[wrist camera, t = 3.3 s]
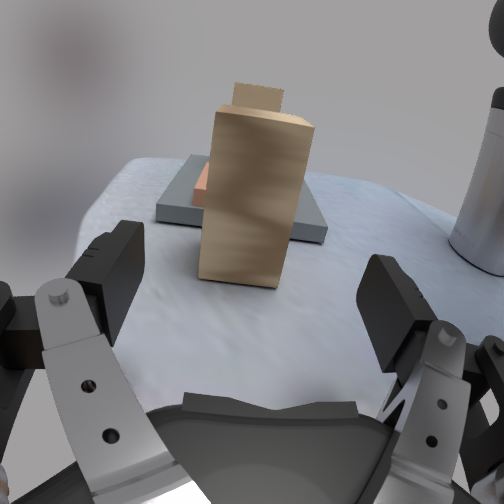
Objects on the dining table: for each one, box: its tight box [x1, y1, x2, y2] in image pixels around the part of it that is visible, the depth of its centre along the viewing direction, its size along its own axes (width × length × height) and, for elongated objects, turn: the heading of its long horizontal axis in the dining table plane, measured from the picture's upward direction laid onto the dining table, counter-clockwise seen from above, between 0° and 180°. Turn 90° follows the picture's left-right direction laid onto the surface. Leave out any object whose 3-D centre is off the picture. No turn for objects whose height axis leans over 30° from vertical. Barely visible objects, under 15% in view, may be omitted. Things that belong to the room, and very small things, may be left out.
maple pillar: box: [198, 105, 315, 288], centre depth 19 cm, size 5×5×10 cm
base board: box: [156, 82, 328, 243], centre depth 30 cm, size 14×17×12 cm
